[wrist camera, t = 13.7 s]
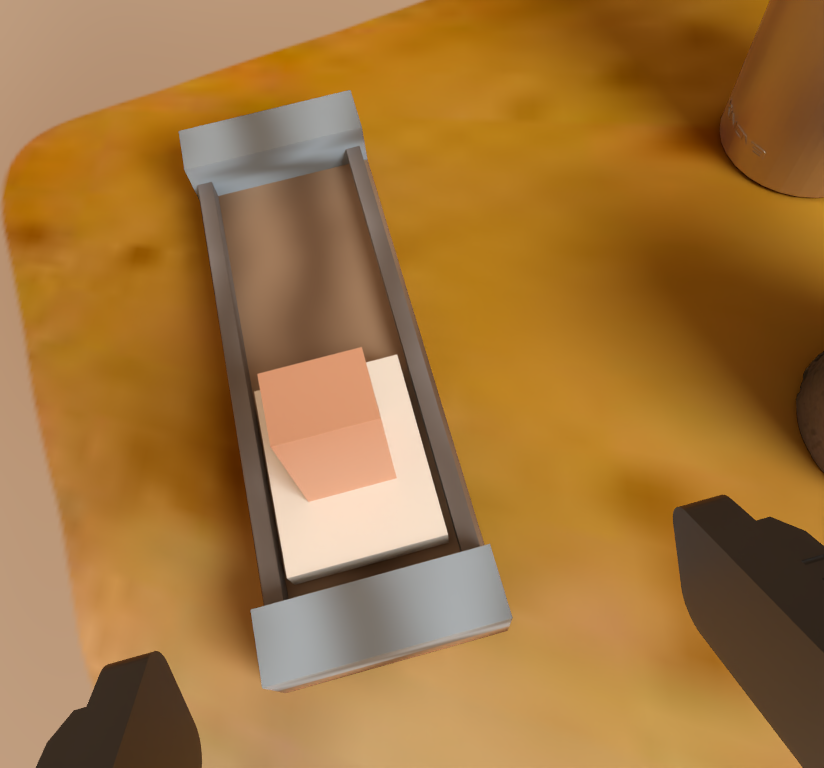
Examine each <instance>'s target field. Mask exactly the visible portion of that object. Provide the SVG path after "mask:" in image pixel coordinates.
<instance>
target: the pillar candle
mask: <svg viewBox="0 0 824 768" xmlns="http://www.w3.org/2000/svg"><path fill="white" fill-rule="evenodd" d="M800 388H801V389H800V392H799V393H798V394H797V399H796V406H797V420H798V425H799V429H800V432H801V435H802V438H803V440H804V443H805V445H806V446H807V449H808V450H809V451H810V454H811V456H812V458H813V459H814V461H815V462H816V464H817V465H818V466H819V468H820V469H821V470H822V471H823V473H824V352H822V353H821V354H819V355H818V356H817V357H816V358H815V359H814V360H813V361H812V362H811V364H810V365H809V367H808V368H806V370H805V372H804V374H803V382H802V384H801V387H800Z"/></svg>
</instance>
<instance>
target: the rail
mask: <svg viewBox="0 0 824 768" xmlns="http://www.w3.org/2000/svg"><path fill="white" fill-rule="evenodd" d="M179 137H180V144H181V150H182V157H183V164H184V170H185V172H186V174H187V176H188V178H189V180H190V182H191V184H192V186H193V188H194V190H195V192H196V194H197V196H198V198H199V200H200V205H201V212H202V218H203V224H204V231H205V237H206V243H207V249H208V256H209V262H210V268H211V275H212V281H213V287H214V294H215V300H216V306H217V312H218V319H219V325H220V331H221V338H222V344H223V350H224V357H225V363H226V369H227V375H228V382H229V388H230V394H231V401H232V407H233V413H234V420H235V426H236V432H237V439H238V445H239V451H240V457H241V464H242V470H243V476H244V483H245V489H246V495H247V502H248V508H249V514H250V520H251V527H252V533H253V539H254V546H255V552H256V558H257V565H258V571H259V577H260V583H261V590H262V596H263V602H264V606H262V607H258V608H255V609H251V617H252V623H253V630H254V637H255V643H256V650H257V657H258V663H259V670H260V677H261V683H262V688H264V689H269V690H274V691H279V692H283V693H288V692H291V691H295V690H298V689H302V688H305V687H309V686H312V685H316V684H320V683H323V682H327V681H330V680H334V679H337V678H341V677H344V676H348V675H352V674H355V673H359V672H362V671H366V670H369V669H373V668H376V667H380V666H384V665H387V664H391V663H394V662H398V661H401V660H405V659H409V658H412V657H416V656H419V655H423V654H426V653H430V652H433V651H437V650H441V649H444V648H448V647H451V646H455V645H458V644H462V643H465V642H469V641H473V640H476V639H480V638H483V637H487V636H490V635H494V634H497V633H501V632H505V631H507V630H508V628H509V625H510V623H511V620H512V615H511V611H510V608H509V605H508V602H507V598H506V595H505V592H504V589H503V585H502V582H501V579H500V576H499V572H498V569H497V566H496V563H495V559H494V556H493V553H492V550H491V546H490V544H488V545H484V542H483V539H482V536H481V532H480V529H479V526H478V522H477V519H476V516H475V512H474V509H473V506H472V503H471V499H470V496H469V493H468V489H467V486H466V483H465V480H464V476H463V473H462V470H461V466H460V463H459V460H458V456H457V453H456V450H455V447H454V443H453V440H452V437H451V433H450V430H449V427H448V424H447V420H446V417H445V414H444V410H443V407H442V404H441V401H440V397H439V394H438V391H437V387H436V384H435V381H434V377H433V374H432V371H431V368H430V364H429V361H428V358H427V354H426V351H425V348H424V345H423V341H422V338H421V335H420V331H419V328H418V325H417V321H416V318H415V315H414V312H413V308H412V305H411V302H410V298H409V295H408V292H407V289H406V285H405V282H404V279H403V275H402V272H401V269H400V265H399V262H398V259H397V256H396V252H395V249H394V246H393V242H392V239H391V236H390V233H389V229H388V226H387V223H386V219H385V216H384V213H383V210H382V206H381V203H380V200H379V196H378V193H377V190H376V186H375V183H374V180H373V177H372V173H371V170H370V167H369V163H368V160H367V155H366V149H365V143H364V138H363V132H362V127H361V123H360V120H359V117H358V114H357V110H356V107H355V104H354V101H353V97H352V94H351V91H350V90H348V91H344V92H340V93H336V94H332V95H327V96H323V97H319V98H315V99H311V100H307V101H302V102H298V103H294V104H290V105H286V106H282V107H277V108H273V109H269V110H265V111H261V112H257V113H252V114H248V115H244V116H240V117H236V118H232V119H227V120H223V121H219V122H215V123H211V124H207V125H202V126H198V127H194V128H190V129H186V130H182V131H179ZM359 347H362V350H363V353H364V357H365V361H366V362H370V361H374V360H378V359H381V358H385V357H389V356H393V355H397V356H398V359H399V363H400V366H401V370H402V373H403V377H404V380H405V384H406V388H407V391H408V395H409V398H410V402H411V405H412V409H413V412H414V416H415V419H416V423H417V426H418V430H419V434H420V437H421V441H422V444H423V448H424V451H425V455H426V458H427V462H428V465H429V469H430V472H431V476H432V480H433V483H434V487H435V490H436V494H437V497H438V501H439V504H440V508H441V511H442V515H443V518H444V522H445V526H446V529H447V533H448V540H449V543H446V544H442V545H439V546H435V547H431V548H428V549H424V550H420V551H417V552H413V553H409V554H406V555H402V556H398V557H395V558H391V559H387V560H384V561H380V562H377V563H373V564H369V565H366V566H362V567H358V568H355V569H351V570H347V571H344V572H340V573H336V574H333V575H329V576H325V577H322V578H318V579H314V580H311V581H307V582H303V583H300V584H296V585H294V584H293V583H292V582H291V581H289V580H288V579H287V576H286V570H285V565H284V559H283V553H282V548H281V542H280V536H279V530H278V525H277V519H276V513H275V508H274V502H273V496H272V491H271V485H270V479H269V473H268V468H267V462H266V456H265V451H264V445H263V439H262V434H261V428H260V422H259V416H258V411H257V405H256V399H255V394H254V391H258V390H260V386H259V381H258V375H257V374H259V373H263V372H267V371H270V370H274V369H278V368H282V367H286V366H290V365H294V364H298V363H301V362H305V361H309V360H313V359H317V358H321V357H325V356H329V355H332V354H336V353H340V352H344V351H348V350H352V349H356V348H359Z"/></svg>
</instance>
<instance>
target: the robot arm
mask: <svg viewBox="0 0 824 768" xmlns="http://www.w3.org/2000/svg"><path fill="white" fill-rule="evenodd" d="M720 137H721V143H722V145H723V147H724V149H725V152H726V154H727V155H728V157H729V158H730V159H731V161H732V162H733V163H734V165H735V166H736V167H737V168H738V169H740V170H741V171H742V172H743V173H744V174H745V175H746V176H748V177H749V178H751V179H752V180H754V181H756V182H757V183H759V184H761V185H762V186H765V187H767V188H770V189H772V190H775V191H777V192H780V193H784V194H789V195H793V196H797V197H811V198H820V197H824V0H770V2H769V4H768V6H767V9H766V11H765V14H764V16H763V18H762V21H761V23H760V26H759V28H758V30H757V33H756V35H755V38H754V40H753V42H752V45H751V47H750V50H749V52H748V55H747V57H746V59H745V62H744V64H743V66H742V69H741V71H740V74H739V76H738V79H737V81H736V84H735V86H734V88H733V91H732V93H731V96H730V98H729V101H728V103H727V105H726V108H725V110H724V113H723V115H722V117H721V122H720ZM673 524H674V532H675V540H676V548H677V556H678V564H679V572H680V580H681V587H682V593H683V597H684V601H685V604H686V607H687V609H688V612H689V614H690V617H691V619H692V621H693V623H694V624H695V626H696V628H697V629H698V631H699V632H700V634H701V635H702V636H703V638H704V639H705V640H706V642H707V643H708V644H709V645H710V647H711V648H712V649H713V651H714V652H715V653H716V655H717V656H718V657H719V659H720V660H721V661H722V662H723V664H724V665H725V666H726V668H727V669H728V670H729V672H730V673H731V674H732V676H733V677H734V678H735V679H736V681H737V682H738V683H739V685H740V686H741V687H742V689H743V690H744V691H745V692H746V694H747V695H748V696H749V698H750V699H751V700H752V702H753V703H754V704H755V706H756V707H757V708H758V709H759V711H760V712H761V713H762V715H763V716H764V717H765V719H766V720H767V721H768V723H769V724H770V725H771V726H772V728H773V729H774V730H775V732H776V733H777V734H778V736H779V737H780V738H781V740H782V741H783V742H784V743H785V745H786V746H787V747H788V749H789V750H790V751H791V753H792V754H793V755H794V757H795V758H796V759H797V760H798V762H799V763H800V764H801V766H802V767H803V768H824V546H823V545H822V544H821V543H819V542H818V541H817V540H816V539H815V538H813V537H812V536H811V535H810V534H808V533H807V532H806V531H804V530H802V529H799V528H797V527H794V526H792V525H789V524H787V523H784V522H782V521H779V520H777V519H774V518H772V517H767V518H764V519H760V520H757V521H756V520H754V519H753V518H752V517H751V516H750V515H749V514H748V513H747V512H745V511H744V510H743V509H742V508H741V507H740V506H739V505H737V504H736V503H735V502H734V501H733V500H732V499H731V498H729V497H728V496H726V495H719V496H716V497H712V498H709V499H705V500H702V501H698V502H694V503H691V504H687V505H684V506H680V507H676V508H675V510H674V512H673ZM36 768H202V753H201V744H200V738H199V734H198V731H197V728H196V725H195V723H194V720H193V718H192V716H191V714H190V712H189V709H188V707H187V705H186V703H185V701H184V698H183V696H182V694H181V692H180V689H179V687H178V685H177V683H176V681H175V678H174V676H173V674H172V672H171V669H170V667H169V665H168V663H167V661H166V659H165V658H164V656H163V655H162V654H161V653H160V652H158V651H154V652H151V653H147V654H144V655H140V656H136V657H133V658H129V659H126V660H122V661H119V662H115V663H111V664H108V665H106V666H105V667H104V668H103V669H102V671H101V673H100V675H99V677H98V680H97V682H96V685H95V687H94V690H93V692H92V695H91V697H90V700H89V702H88V704H87V707H84V708H81V709H78V710H74V711H73V712H72V713H71V714H70V716H69V717H68V718H67V719H66V721H65V722H64V723H63V724H62V725H61V727H60V728H59V729H58V730H57V731H56V733H55V734H54V735H53V736H52V737H51V739H50V740H49V741H48V742H47V744H46V746H45V748H44V751H43V753H42V755H41V757H40V760H39V762H38V764H37V766H36Z"/></svg>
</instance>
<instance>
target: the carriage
mask: <svg viewBox="0 0 824 768" xmlns="http://www.w3.org/2000/svg"><path fill="white" fill-rule="evenodd" d="M257 375H258V381H259V386H260V390H258V391H254V394H255V399H256V405H257V411H258V416H259V422H260V428H261V434H262V439H263V445H264V451H265V456H266V462H267V468H268V473H269V479H270V485H271V491H272V496H273V502H274V508H275V513H276V519H277V525H278V530H279V536H280V542H281V548H282V553H283V559H284V565H285V570H286V576H287V579H288V580H289V581H291V582H292V583H293V584H294V585H296V584H300V583H303V582H307V581H311V580H314V579H318V578H322V577H325V576H329V575H333V574H336V573H340V572H344V571H347V570H351V569H355V568H358V567H362V566H366V565H369V564H373V563H377V562H380V561H384V560H387V559H391V558H395V557H398V556H402V555H406V554H409V553H413V552H417V551H420V550H424V549H428V548H431V547H435V546H439V545H442V544H446V543H449V540H448V533H447V529H446V526H445V522H444V518H443V515H442V511H441V508H440V504H439V501H438V497H437V494H436V490H435V487H434V483H433V480H432V476H431V472H430V469H429V465H428V462H427V458H426V455H425V451H424V448H423V444H422V441H421V437H420V434H419V430H418V426H417V423H416V419H415V416H414V412H413V409H412V405H411V402H410V398H409V395H408V391H407V388H406V384H405V380H404V377H403V373H402V370H401V366H400V363H399V359H398V356H397V355H393V356H389V357H385V358H381V359H378V360H374V361H370V362H366V361H365V357H364V353H363V350H362V347H359V348H356V349H352V350H348V351H344V352H340V353H336V354H332V355H329V356H325V357H321V358H317V359H313V360H309V361H305V362H301V363H298V364H294V365H290V366H286V367H282V368H278V369H274V370H270V371H267V372H263V373H259V374H257Z"/></svg>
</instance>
